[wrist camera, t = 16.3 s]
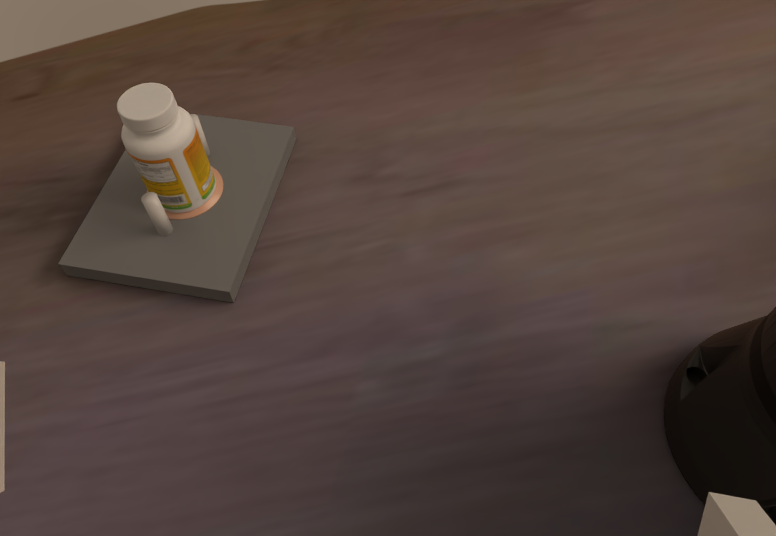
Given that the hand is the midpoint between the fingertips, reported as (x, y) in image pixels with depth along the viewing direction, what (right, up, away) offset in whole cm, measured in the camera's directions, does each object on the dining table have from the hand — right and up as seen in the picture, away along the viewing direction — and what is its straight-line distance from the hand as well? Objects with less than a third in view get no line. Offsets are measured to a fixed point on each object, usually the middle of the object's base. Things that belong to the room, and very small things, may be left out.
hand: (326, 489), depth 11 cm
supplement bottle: (-16, +11, +41) cm, 45 cm away
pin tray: (-16, +10, +42) cm, 46 cm away
